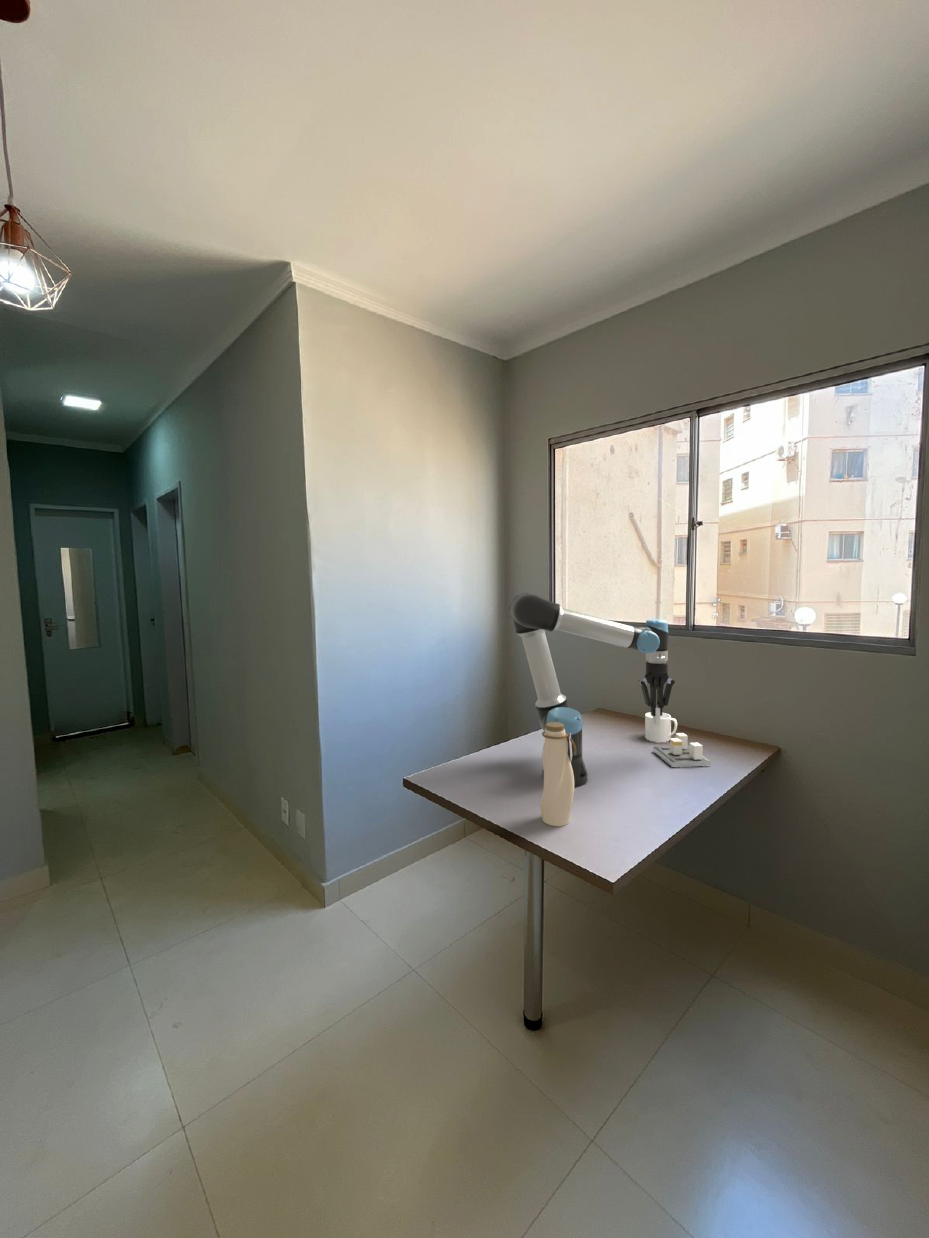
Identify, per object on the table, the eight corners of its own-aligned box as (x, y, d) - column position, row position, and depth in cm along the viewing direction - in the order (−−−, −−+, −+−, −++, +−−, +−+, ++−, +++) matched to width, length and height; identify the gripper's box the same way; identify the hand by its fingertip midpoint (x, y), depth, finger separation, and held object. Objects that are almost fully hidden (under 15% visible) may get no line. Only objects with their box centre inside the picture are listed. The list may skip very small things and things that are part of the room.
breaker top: (679, 748, 190) (679, 736, 190) (675, 745, 194) (675, 733, 193) (687, 748, 190) (687, 735, 190) (682, 745, 194) (683, 732, 193)
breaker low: (694, 759, 179) (694, 746, 179) (689, 755, 183) (689, 742, 182) (702, 759, 179) (702, 745, 179) (697, 755, 183) (697, 742, 183)
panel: (672, 767, 178) (672, 762, 178) (653, 752, 194) (653, 746, 194) (710, 766, 179) (710, 760, 179) (688, 750, 195) (688, 745, 195)
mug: (641, 740, 208) (642, 716, 207) (649, 734, 216) (649, 710, 215) (673, 746, 200) (673, 721, 199) (679, 739, 208) (680, 715, 207)
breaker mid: (674, 754, 184) (674, 741, 184) (669, 751, 188) (669, 738, 188) (682, 754, 185) (682, 741, 184) (677, 750, 188) (677, 737, 188)
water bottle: (572, 811, 148) (571, 719, 145) (580, 826, 139) (579, 728, 136) (537, 812, 148) (536, 720, 145) (543, 827, 139) (542, 729, 136)
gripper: (643, 664, 179) (643, 728, 181) (678, 662, 179) (678, 726, 182) (635, 660, 186) (635, 722, 188) (669, 659, 187) (669, 720, 189)
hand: (656, 724), depth 185 cm, fingers closed
